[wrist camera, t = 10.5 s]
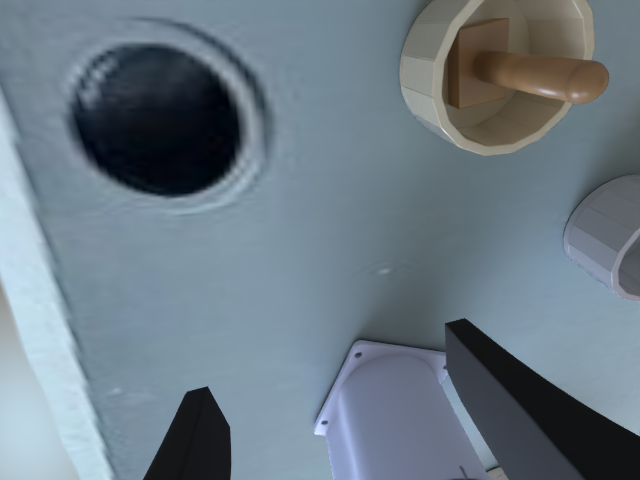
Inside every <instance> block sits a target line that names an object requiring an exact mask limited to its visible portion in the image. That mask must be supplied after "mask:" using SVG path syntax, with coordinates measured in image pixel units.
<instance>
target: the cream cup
mask: <svg viewBox="0 0 640 480" xmlns="http://www.w3.org/2000/svg"><path fill="white" fill-rule="evenodd" d="M494 18H509V35H508V52H512V53H522V54H532V55H542V56H552V57H562V58H572V59H582V60H592V57H593V53H594V49H595V36H594V22H593V12H592V9H591V7H590V6H589V4H588V2H587V0H432V1H431V2H430V3H429V4H428V5H427V6H426V7H425V8H424V10H423V11H422V12H421V13H420V15H419V16H418V17H417V19H416V20H415V22H414V24H413V25H412V27H411V29H410V31H409V33H408V36H407V38H406V40H405V43H404V46H403V50H402V55H401V59H400V70H399V71H400V85H401V91H402V94H403V98H404V100H405V102H406V105H407V107H408V108H409V110H410V112H411V113H412V114H413V115H414V117H415V118H416V119H417V120H418V121H419V122H421V123H422V124H423V125H425V126H426V128H427V129H429V130H431V131H432V132H434V133H436V134H438V135H439V136H441V137H443V138H444V139H446V140H448V141H450V142H451V143H453V144H455V145H456V146H458V147H460V148H462V149H465V150H468V151H471V152H474V153H477V154H480V155H483V156H484V155H485V156H488V155H496V154H505V153H512V152H515V151H517V150H519V149H521V148H523V147H525V146H527V145H529V144H531V143H533V142H535V141H537V140H539V139H541V138H542V137H543V136H544V135H545V134H546V133H547V132H548V131H549V130H550V129H552V128H553V127H554V126H555V125H556V124H557V123H558V122H559V121H560V120H561V119H562V118H563V117H564V116H565V115H566V114H567V113H568V111H569V109H570V108H571V106H572V104H573V103H570V102H566V101H561V100H557V99H553V98H549V97H545V96H541V95H536V94H532V93H528V92H524V91H520V90H515V89H511V88H507V87H506V90H505V98H503V99H499V100H495V101H491V102H486V103H482V104H478V105H474V106H470V107H466V108H462V109H458V108H455V107H453V106H450V105H449V100H448V53H449V50H450V48H451V46H452V44H453V41H454V39H455V37H456V34H457V32H458V30H459V28H460V27H461V26H464V25H468V24H472V23H477V22H481V21H485V20H489V19H494Z"/></svg>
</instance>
